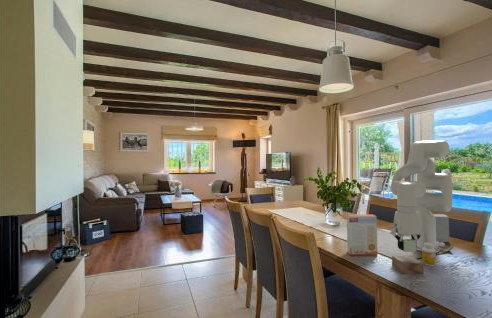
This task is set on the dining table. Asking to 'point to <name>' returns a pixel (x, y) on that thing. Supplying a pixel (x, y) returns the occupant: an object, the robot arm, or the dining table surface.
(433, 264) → the supplement bottle
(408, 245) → the sage cube
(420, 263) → the walnut block
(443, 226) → the skincare box
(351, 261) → the dining table surface
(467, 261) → the dining table surface
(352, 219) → the cracker box
